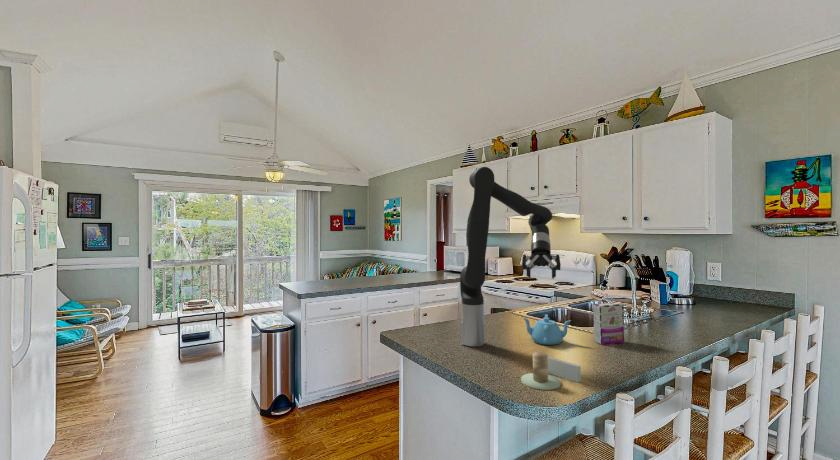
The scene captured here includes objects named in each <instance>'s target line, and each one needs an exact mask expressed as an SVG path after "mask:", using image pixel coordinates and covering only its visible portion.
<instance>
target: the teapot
mask: <svg viewBox="0 0 840 460" xmlns="http://www.w3.org/2000/svg"><path fill="white" fill-rule="evenodd" d="M521 318H522V319H523V320H524V321H525V324H526V325H525V326H526V331H527V333H528V334H529V335H530V338H531V339H532V340H533V341H534V343H536V344H540V345H545V346H548V345H549V346H554V345H559V344H561V342H562V341H563V339H564V338H565V337H566V335H567V334H568V326H569V324H570V322H572V320H571V319H570V320H566V321H565V322H564V323H563V329H561V328H560V327H559V325H558V323H557V322H556V321H555V320H552V319H550V317H549V315H548V314H547V313H546V314H544V317H543V318H542V319H539V320H537V321H535V324H534V325H533V327H532V326H531V324H530V320H529V319H528V318H526V317H525V316H524V317H523V316H522V317H521Z"/></svg>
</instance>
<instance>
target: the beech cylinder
mask: <svg viewBox="0 0 840 460" xmlns="http://www.w3.org/2000/svg"><path fill="white" fill-rule="evenodd" d="M547 356H548V354H547V353H545V352H542V351H541V352H540V351H538V352H537V351H535V352H533V353H532V373H533V380H534V381H536V382H540V383H545V382H548V375H549V373H548V358H547Z"/></svg>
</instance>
